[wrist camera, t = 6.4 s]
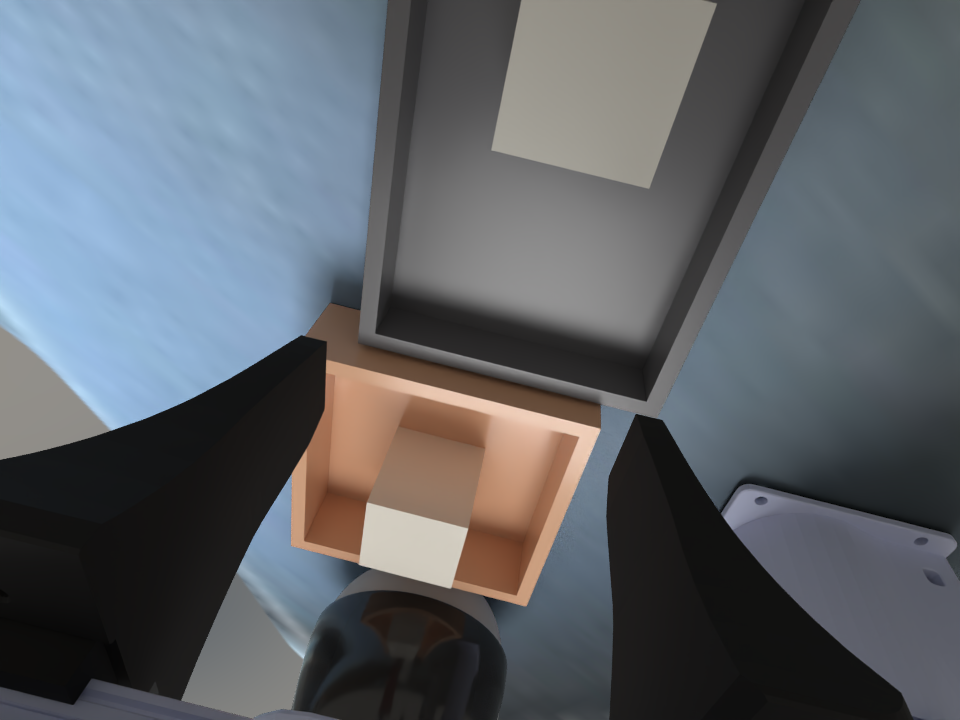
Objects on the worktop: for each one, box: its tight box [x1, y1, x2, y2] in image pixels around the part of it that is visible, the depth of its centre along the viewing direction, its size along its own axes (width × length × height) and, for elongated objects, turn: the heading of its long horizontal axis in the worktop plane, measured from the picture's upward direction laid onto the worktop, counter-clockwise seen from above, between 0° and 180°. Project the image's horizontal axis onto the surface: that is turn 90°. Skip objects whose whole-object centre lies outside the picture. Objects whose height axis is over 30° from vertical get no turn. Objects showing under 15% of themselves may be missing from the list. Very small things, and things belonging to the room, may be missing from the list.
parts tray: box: [358, 0, 861, 418], centre depth 19 cm, size 11×14×3 cm
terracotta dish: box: [291, 303, 601, 606], centre depth 26 cm, size 11×11×4 cm
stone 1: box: [359, 426, 485, 589], centre depth 26 cm, size 4×4×4 cm
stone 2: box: [491, 0, 717, 189], centre depth 15 cm, size 4×4×4 cm
